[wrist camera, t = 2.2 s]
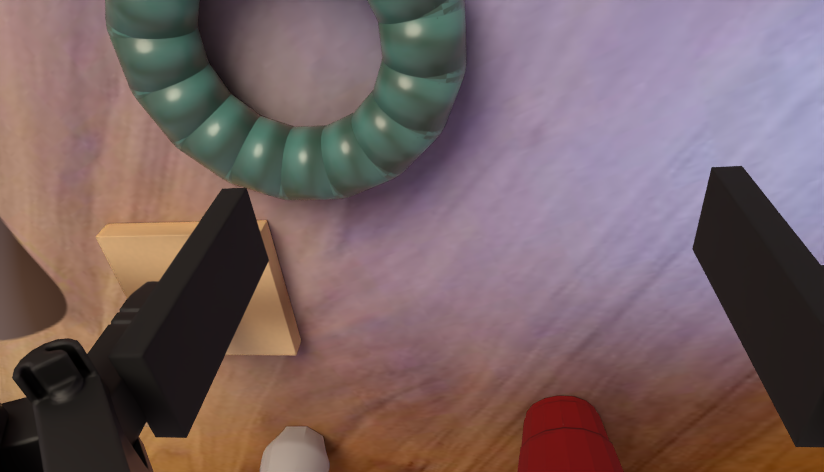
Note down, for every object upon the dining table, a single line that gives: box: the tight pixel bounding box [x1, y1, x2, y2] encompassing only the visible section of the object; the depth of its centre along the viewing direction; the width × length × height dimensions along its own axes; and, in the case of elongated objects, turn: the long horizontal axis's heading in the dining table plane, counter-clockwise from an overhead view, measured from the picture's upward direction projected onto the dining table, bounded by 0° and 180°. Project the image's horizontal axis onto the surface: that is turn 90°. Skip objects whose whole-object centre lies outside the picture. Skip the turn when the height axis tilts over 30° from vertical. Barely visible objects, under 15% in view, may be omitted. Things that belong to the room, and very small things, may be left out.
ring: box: [105, 0, 467, 200], centre depth 27 cm, size 17×17×4 cm
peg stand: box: [96, 220, 301, 427], centre depth 36 cm, size 11×11×10 cm
